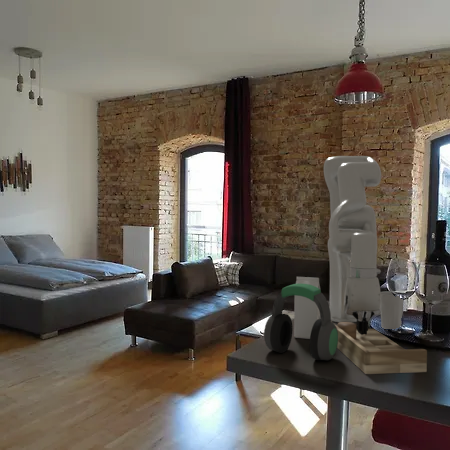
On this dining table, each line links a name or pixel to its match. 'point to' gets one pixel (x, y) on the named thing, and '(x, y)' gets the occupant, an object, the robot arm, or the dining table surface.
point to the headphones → (282, 326)
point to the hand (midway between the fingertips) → (362, 333)
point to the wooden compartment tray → (380, 353)
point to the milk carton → (305, 310)
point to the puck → (348, 328)
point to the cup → (391, 310)
